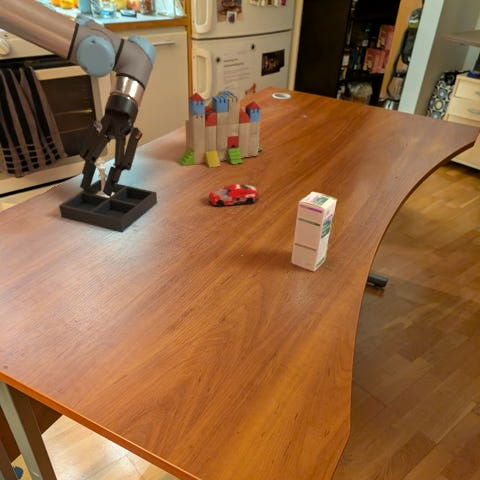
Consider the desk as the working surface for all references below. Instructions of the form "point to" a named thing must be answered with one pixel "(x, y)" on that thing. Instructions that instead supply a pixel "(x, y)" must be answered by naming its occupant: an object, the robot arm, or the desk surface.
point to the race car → (234, 195)
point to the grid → (109, 206)
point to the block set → (221, 130)
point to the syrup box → (313, 230)
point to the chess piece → (102, 178)
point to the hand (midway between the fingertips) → (95, 191)
